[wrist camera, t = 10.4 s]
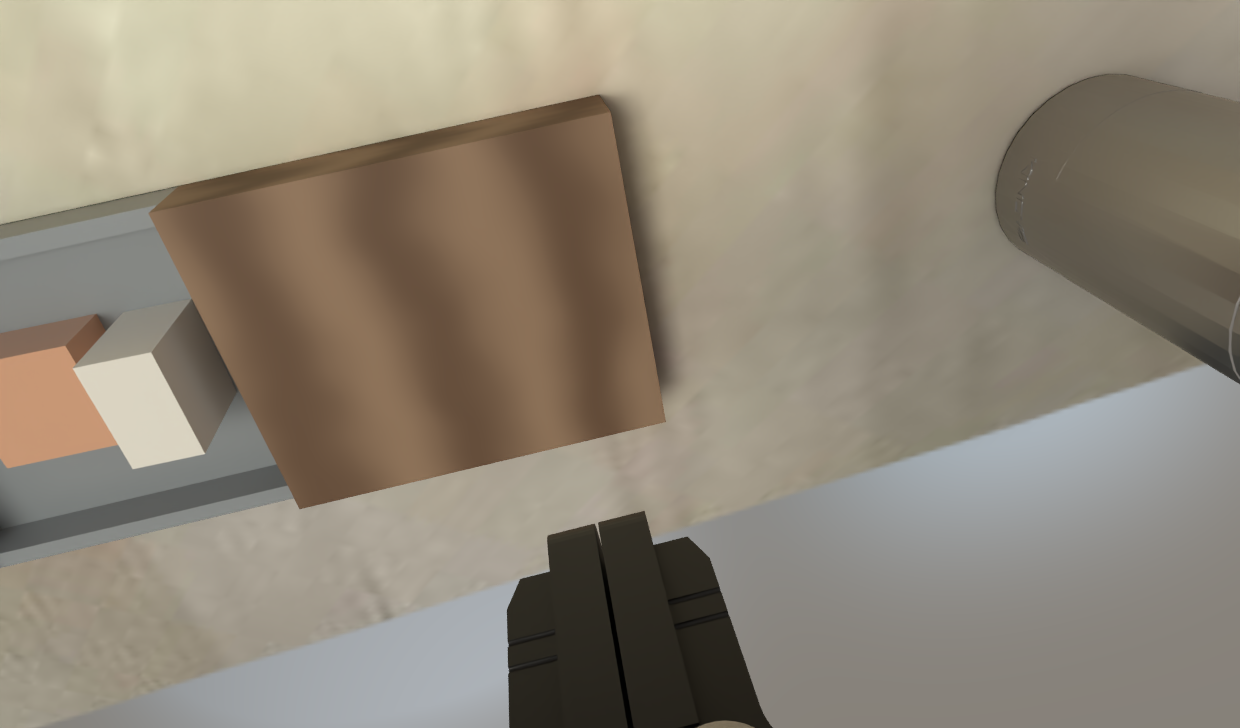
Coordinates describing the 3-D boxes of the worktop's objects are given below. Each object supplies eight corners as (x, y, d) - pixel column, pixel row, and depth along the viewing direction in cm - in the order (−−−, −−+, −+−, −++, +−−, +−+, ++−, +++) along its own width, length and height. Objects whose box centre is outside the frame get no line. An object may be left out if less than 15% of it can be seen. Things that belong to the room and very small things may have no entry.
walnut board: (598, 94, 33) (610, 112, 30) (652, 384, 41) (665, 421, 38) (178, 186, 33) (148, 213, 30) (312, 464, 40) (299, 509, 37)
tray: (178, 186, 33) (138, 222, 29) (312, 464, 40) (295, 522, 36) (-214, 271, 32) (-309, 319, 28) (-1, 538, 40) (-53, 606, 36)
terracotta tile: (-62, 371, 31) (-21, 337, 34) (7, 468, 34) (40, 429, 37) (65, 345, 32) (96, 313, 34) (123, 443, 34) (148, 407, 37)
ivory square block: (150, 352, 30) (72, 368, 30) (205, 453, 33) (132, 469, 33) (191, 298, 35) (123, 312, 34) (236, 392, 37) (173, 405, 37)
